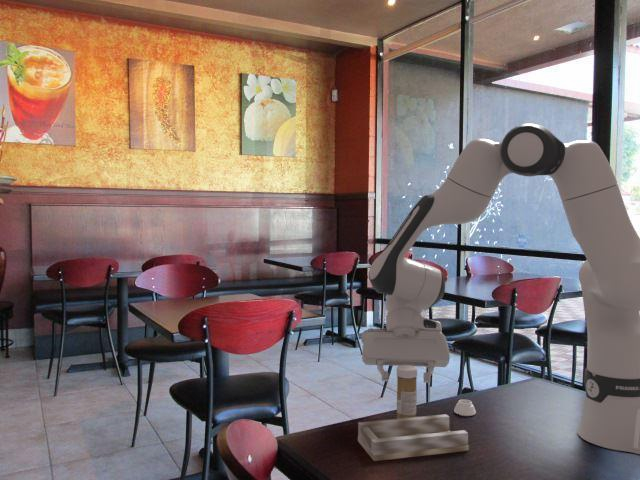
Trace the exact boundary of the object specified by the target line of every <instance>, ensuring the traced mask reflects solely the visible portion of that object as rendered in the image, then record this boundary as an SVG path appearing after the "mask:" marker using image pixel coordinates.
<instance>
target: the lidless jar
mask: <svg viewBox="0 0 640 480" xmlns="http://www.w3.org/2000/svg"><path fill="white" fill-rule="evenodd" d="M453 410H454V413H455V414H457V415H458V414H459V415H458V416H462V417H471V416H474V415H476V413H477V411H476V409H475V406H474V404H473V402H472V400H469V399H459V400H458V402H457V403H456V404H455V407H454V409H453Z"/></svg>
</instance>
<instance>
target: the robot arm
mask: <svg viewBox="0 0 640 480" xmlns="http://www.w3.org/2000/svg"><path fill="white" fill-rule="evenodd" d="M509 174H516V175H519V176H523V177H536V176H549V177H550V178H552V180H553V181H554V184H555V185H556V188H557V191H558V194H559V197H560V200H561V203H562V207H563V210H564V211H565V215H566V218H567V221H568V224H569V229H570V230H571V233H572V236H573V238H574V239H575V240H576V242H577V243H578V246H579V247H580V249H581V250H582V253H583V255H584V257H585V259H586V260H585V261H584V262H582V264H581V266H580V267H579V271H578V281H579V284H580V287H581V292H582V293H581V295H582V302H583V310H584V316H585V323H586V331H587V343H586V344H587V348H586V349H587V351H586V353H587V357H586V360H587V361H586V368H585V369H584V380H583V381H584V384H583V385H584V390H585V395H584V402H583V409H582V415H581V418H580V421H579V425H578V428H577V432H576V433H577V435H578V436H579V437H580V438H581V439H583V440H585V441H586V442H588V443H591V444H592V445H596V446H598V447H602V448H604V449H605V448H606V449H609V450H614V451H621V452H629V453H633V454H637V455H640V236H639V235H638V233H637V231H636V229H635V228H634V226H633V224H632V220H630V217H629V214H628V210H627V208H626V205H625V202H624V199H623V196H622V193H621V191H620V187H619V184H618V182H617V178H616V176H615V174H614V171H613V168H612V167H611V164H610V162H609V161H608V158H607V156H606V155H605V153H604V151H603V150H602V148H601V147H600V145H599V144H598V143H597V142H595V141H593V140H588V139H579V140H574V141H571V142H563V141H562V140H561V139H560V138H558V137H556V135H554V133H553V132H552V131H551V130H550V129H549V128H547V127H546V126H543V125H541V124H536V123H529V122H528V123H523V124H519V125H516V126H515V127H513V128H511V129H510V130H509V131H508V132H507V133H506V134H505V135H504V137H503V139H502V141H500V142H498V141H495V140H492V139H487V138H475V139H473V140H470V141H469V142H468V143H467V145H466V146H465V147H464V148H463V150H462V151H461V153H460V154H459V156H458V157H457V159H456V160H455V162H454V163H453V165H452V167H451V169H450V170H449V172H448V175H447V177H446V179H445V180H444V181H443V183H442V184H441V186H439V187H438V188H437V189H436V190H435V191H434V192H432V193H430V194H426V195H424V196H422V197H421V198H420V199H419V200H418V201H417V202H416V204H415V205H414V206H413V207H412V209H411V210H410V212H409V213H408V214H407V216H406V218H405V219H404V220H403V221H402V223H401V224H400V225H399V227H398V229H397V230H396V232H395V233H394V235H393V236H392V238H390V240H389V242H388V243H387V245H386V246H385V247H384V249H383V250H381V252H380V253H378V255H377V256H376V257H375V259H374V260H373V261H372V263H371V266H370V268H369V272H368V279H369V282H370V284H371V286H372V288H373V289H374V291H375V292H376V293H378V294H383V295H386V296H385V307H386V310H387V313H386V317H385V328H372V327H371V328H370V327H369V328H367V329H365V330H364V331H363V332H362V333H361V335H360V336H361V339H360V341H361V343H362V344H363V345H362V350H361V351H362V352H361V354H362V355H361V356H362V357H361V358H362V359H361V361H362V362H363V364H364V365H367V366H376V369H377V371H378V372H379V374H380V375H381V381H382V382H389V371H386V370H385V369H384V366H393V367H395V366H396V367H398V366H401V365H411V366H415V367H423V368H424V367H427V370H428V371H426V372H423V376H422V377H423V383H424V384H425V383H427V384H431V381H432V380H431V376H432V374H433V373H434V371H435V368H446V367H447V366H448V365H449V363H450V348H449V345H448V340H447V337H446V336H445V334H444V333H443V332H442V330H443V329H442V324H441V322H440V321H438V320H433V319H429V318H426V317H425V316H422V313H423V311H427V310H428V309H430V308H432V307H433V306H434V305H437V304H438V303H440V302H441V300H442V299H443V297H444V295H445V292H446V291H445V290H446V280H445V276H444V274H443V271H442V270H441V269H439V268H437V267H435V266H432V265H429V264H426V263H423V262H418V261H416V260H413V259H410V258H407V257H406V255H407V254H408V252H410V250H411V248H412V247H413V246H414V245H415V243H416V241H417V240H418V238H419V237H420V235H421V234H422V233H423V232H424V231H425V230H427V229H430V228H432V227H436V226H442V225H443V226H445V225H463V224H467V223H470V222H472V221H475V220H477V219H479V218H480V217H481V216H482V215H483V214H484V213H485V211H486V209H487V208H488V206H489V204H490V202H491V200H492V198H493V196H494V195H495V192H496V190H497V189H498V187H499V184H500V183H501V182H502V180H503V179H504V178H505V177H506V176H508V175H509Z"/></svg>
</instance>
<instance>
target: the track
mask: <svg viewBox="0 0 640 480" xmlns="http://www.w3.org/2000/svg"><path fill="white" fill-rule="evenodd" d="M357 424H358V425H357V426H358V427H357V429H358V431H357V432H358V434H357V435H358V436H357V442H358V443H359V444H360V446H361V447H362V448H363V449H364V450H365V452H366V453H367V454H368V455H369V456H370V458H371V459H372V461H374V462H379V461H387V460H388V461H389V460H396V459H405V458H414V457H415V458H416V457H423V456H432V455H442V454H450V453H458V452H459V453H460V452H468V451H469V447H470V445H469V432H467V430H465V429H464V430H462V429H461V430H454V431H451V430H450V415H448V414H446V413H445V414H435V415H434V414H433V415H424V416H416V417H411V418H401V419H397V418H392V419H380V420H371V421H370V420H369V421H359V422H358V423H357Z"/></svg>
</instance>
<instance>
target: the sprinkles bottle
mask: <svg viewBox="0 0 640 480" xmlns="http://www.w3.org/2000/svg"><path fill="white" fill-rule="evenodd" d="M396 378H397V381H396V383H397V384H396V385H397V388H396V419H401V418H411V417H417V404H418V403H417V401H418V400H417V398H418V396H417V394H418V393H417V392H418V391H417V390H418V389H417V378H418V368H417V366H411V365H401V366H396Z"/></svg>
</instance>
